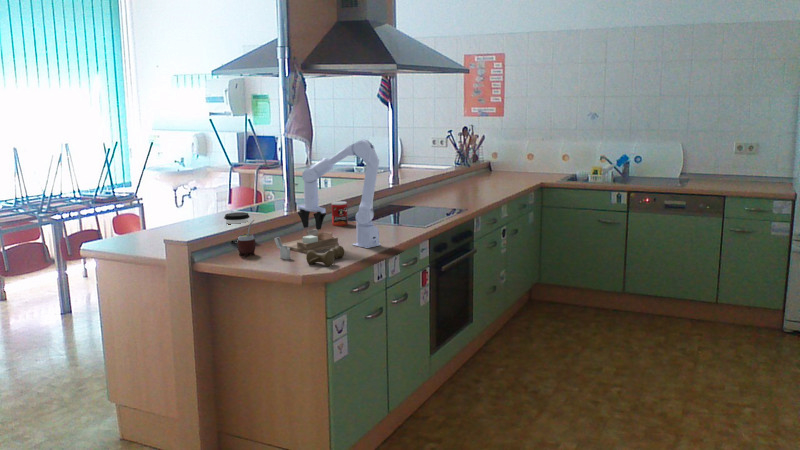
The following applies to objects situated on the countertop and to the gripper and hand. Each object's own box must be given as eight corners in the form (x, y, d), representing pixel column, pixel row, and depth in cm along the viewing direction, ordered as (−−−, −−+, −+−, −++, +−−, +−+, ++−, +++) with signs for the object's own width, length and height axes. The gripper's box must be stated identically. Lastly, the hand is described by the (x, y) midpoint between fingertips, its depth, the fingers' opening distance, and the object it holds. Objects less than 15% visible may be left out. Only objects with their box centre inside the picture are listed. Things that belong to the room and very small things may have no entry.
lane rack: (338, 246, 291) (338, 237, 290) (306, 253, 279) (305, 244, 278) (310, 240, 304) (310, 232, 303) (278, 246, 292) (277, 238, 291)
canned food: (333, 226, 336) (332, 204, 334) (330, 223, 344) (330, 201, 342) (349, 225, 338) (348, 203, 336) (346, 222, 346) (345, 200, 344)
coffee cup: (240, 237, 313) (239, 211, 311) (256, 240, 306) (254, 213, 304) (220, 241, 305) (218, 214, 303) (235, 244, 298) (234, 217, 296)
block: (318, 247, 284) (317, 236, 283) (309, 249, 281) (309, 238, 280) (311, 245, 287) (310, 235, 286) (302, 247, 284) (302, 236, 283)
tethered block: (333, 243, 290) (332, 231, 289) (324, 245, 286) (323, 233, 285) (316, 240, 297) (315, 228, 296) (307, 241, 294) (306, 230, 293)
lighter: (290, 258, 270) (289, 238, 269) (287, 259, 269) (286, 239, 268) (278, 256, 275) (277, 236, 273) (274, 257, 273) (273, 237, 272)
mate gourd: (239, 253, 281) (237, 216, 278) (259, 252, 282) (257, 216, 279) (236, 257, 274) (234, 220, 271) (256, 256, 274) (254, 219, 272)
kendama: (350, 259, 270) (321, 269, 252) (329, 258, 274) (300, 267, 257) (350, 244, 269) (320, 253, 251) (329, 243, 273) (299, 252, 256)
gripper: (330, 196, 290) (331, 228, 293) (305, 194, 299) (306, 225, 302) (318, 199, 285) (319, 231, 287) (293, 196, 294) (295, 227, 296)
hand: (312, 228), depth 294 cm, fingers open, 7 cm apart
